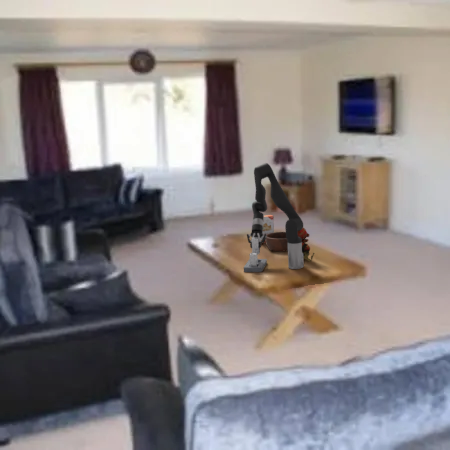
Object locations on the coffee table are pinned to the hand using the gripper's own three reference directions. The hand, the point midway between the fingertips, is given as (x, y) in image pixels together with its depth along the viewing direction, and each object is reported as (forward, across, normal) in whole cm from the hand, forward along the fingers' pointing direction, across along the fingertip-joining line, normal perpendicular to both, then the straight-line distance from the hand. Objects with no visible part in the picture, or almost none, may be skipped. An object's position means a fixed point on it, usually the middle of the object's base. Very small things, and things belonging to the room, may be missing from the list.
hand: (255, 247), depth 449 cm
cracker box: (-40, -5, +59) cm, 72 cm away
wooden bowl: (-26, +12, +45) cm, 53 cm away
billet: (+2, 0, +5) cm, 5 cm away
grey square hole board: (+12, 0, +6) cm, 13 cm away
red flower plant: (-3, +30, +22) cm, 37 cm away
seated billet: (+16, 0, +2) cm, 16 cm away
